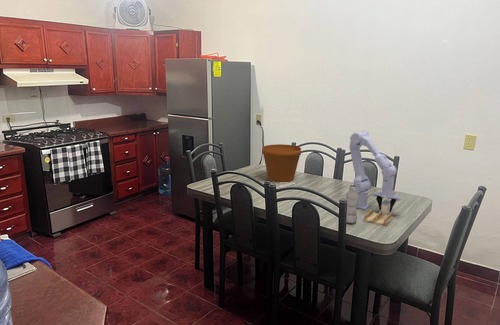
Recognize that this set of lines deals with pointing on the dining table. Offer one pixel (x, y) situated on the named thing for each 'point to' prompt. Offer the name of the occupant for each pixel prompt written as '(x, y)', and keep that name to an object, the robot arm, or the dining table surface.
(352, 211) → the plastic bottle
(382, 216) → the rack
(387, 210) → the tall pale blue block
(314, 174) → the dining table surface
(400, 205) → the dining table surface
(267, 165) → the flowerpot
